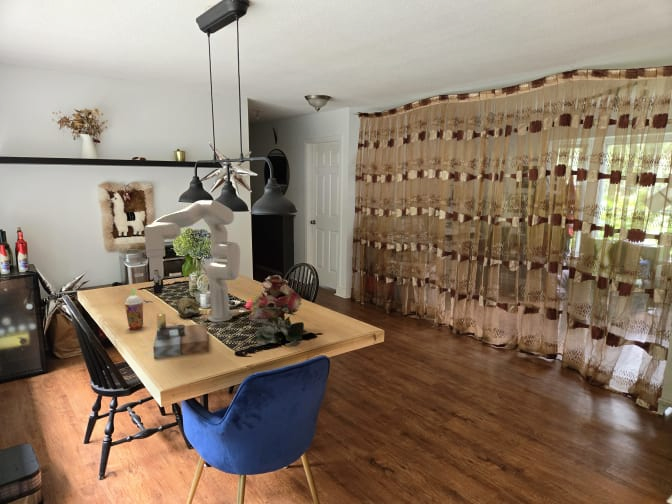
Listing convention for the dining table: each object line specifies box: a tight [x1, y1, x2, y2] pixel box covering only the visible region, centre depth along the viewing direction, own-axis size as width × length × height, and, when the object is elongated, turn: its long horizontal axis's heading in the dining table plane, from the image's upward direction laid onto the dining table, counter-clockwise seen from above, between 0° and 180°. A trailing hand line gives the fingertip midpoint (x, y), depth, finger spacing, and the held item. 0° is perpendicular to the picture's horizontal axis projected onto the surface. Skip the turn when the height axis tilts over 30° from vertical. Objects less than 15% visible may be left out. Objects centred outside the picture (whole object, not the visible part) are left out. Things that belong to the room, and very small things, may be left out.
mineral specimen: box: [175, 297, 201, 318], centre depth 234 cm, size 14×13×10 cm
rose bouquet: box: [248, 274, 305, 347], centre depth 200 cm, size 26×29×30 cm
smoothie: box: [124, 289, 144, 330], centre depth 214 cm, size 8×8×20 cm
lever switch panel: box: [152, 323, 209, 359], centre depth 191 cm, size 22×24×9 cm
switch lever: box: [156, 313, 186, 330], centre depth 189 cm, size 11×4×7 cm, turn 107°
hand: (159, 291), depth 185 cm, fingers open, 9 cm apart
